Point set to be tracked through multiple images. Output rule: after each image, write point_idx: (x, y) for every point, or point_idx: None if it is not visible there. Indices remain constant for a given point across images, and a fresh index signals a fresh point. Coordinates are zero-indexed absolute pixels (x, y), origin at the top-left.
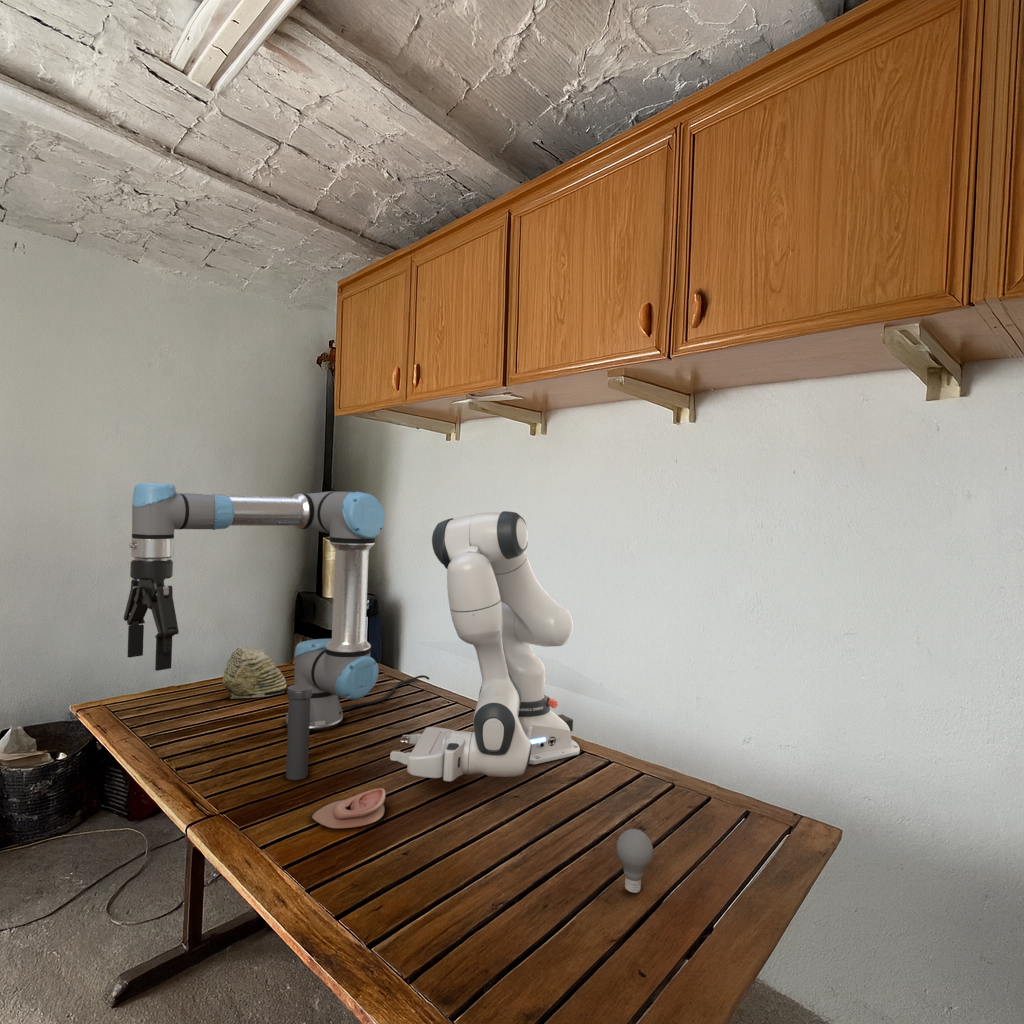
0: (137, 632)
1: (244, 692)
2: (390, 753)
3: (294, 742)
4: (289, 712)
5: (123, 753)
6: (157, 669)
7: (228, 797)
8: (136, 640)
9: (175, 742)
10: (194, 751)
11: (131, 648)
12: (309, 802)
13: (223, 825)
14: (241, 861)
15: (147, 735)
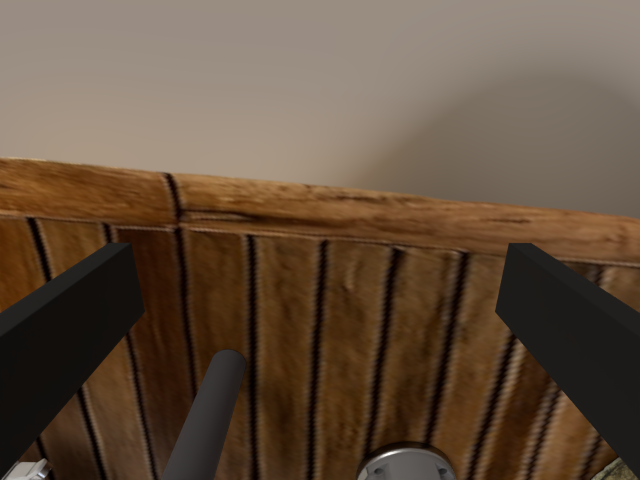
0: (612, 389)
1: (618, 473)
2: (37, 468)
3: (196, 401)
4: (190, 450)
5: (551, 212)
6: (105, 248)
7: (225, 260)
8: (563, 337)
9: None
10: (449, 303)
11: (537, 279)
12: (128, 331)
13: (134, 212)
14: (6, 180)
15: (599, 278)
